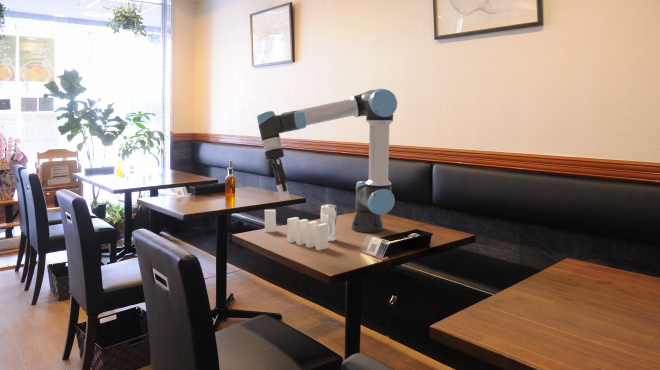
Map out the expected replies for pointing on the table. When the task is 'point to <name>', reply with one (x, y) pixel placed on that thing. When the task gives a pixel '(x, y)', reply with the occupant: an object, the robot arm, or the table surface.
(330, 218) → the silver metal tumbler
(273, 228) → the tile
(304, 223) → the tile
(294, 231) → the tile
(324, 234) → the tile
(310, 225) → the tile
